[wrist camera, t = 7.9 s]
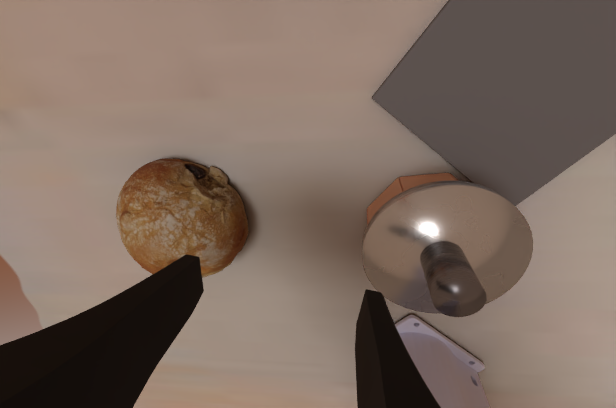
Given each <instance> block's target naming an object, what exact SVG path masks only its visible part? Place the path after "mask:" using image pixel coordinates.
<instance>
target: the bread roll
mask: <svg viewBox="0 0 616 408" xmlns="http://www.w3.org/2000/svg"><path fill="white" fill-rule="evenodd" d="M116 217H117V225H118V229H119V232H120V234H121V239H122V242H123V243H124V245H125V247H126V249H127V251H128V252H129V254H130V255H131V256H132V257H133V259H134V260H135V261H137V262H138V263H139V264H140V265H141V266H142V268H144V269H146V270H147V271H149V272H150V273H152V274H155V273H156V272H158V271H160V270H161V269H163V268H164V267H166V266H168V265H169V264H171V263H173V262H174V261H176V260H178V259H179V258H181V257H183V256H184V255H186V254H187V255H192V256H198V257H200V265H201V274H202V277H207V276H208V275H212V274H215V273H217V272H220V271H222V270H223V269H224V268H225V267H227V266H229V265H230V264H231V263H232V261H233V259H234V258H235V256H236V255H237V253H238V252H239V251H241V250H242V247H243V246H244V244H245V241H246V239H247V235H248V233H249V231H248V223H247V219H248V218H247V216H246V213H245V209H244V205H243V202H242V200H241V198H240V196H239V194H238V193H237V191H236V190H235V189H234V188H233V187H232V186H230V185H229V184H228V176H227V175H226V174H225V173H223V172H222V171H221V170H220V169H217V168H215V167H212V166H210V168H206V167H204V166H202V165H199V164H196V163H192V162H186V161H183V160H180V159H167V158H166V159H159V160H156V161H153V162H150V163H148V164H146V165H144V166H142V167H141V168H139V169H138V170H137V171H136V172H134V173H133V174H132V175H131V176H130V178H129V179H128V181H126V182H125V184H124V186H123V188H122V190H121V191H120V194H119V197H118V201H117V213H116Z"/></svg>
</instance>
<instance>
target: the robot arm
mask: <svg viewBox="0 0 616 408" xmlns="http://www.w3.org/2000/svg"><path fill="white" fill-rule="evenodd" d="M203 291H204V290H203V282H202V274H201V265H200V257H198V256H192V255H187V254H186V255H184V256H183V257H181V258H179V259H178V260H176V261H174V262H173V263H171V264H169V265H168V266H166V267H164V268H163V269H161V270H160V271H158V272H156V273H155V274H153V275H151V276H150V277H148V278H146V279H144V280H143V281H141V282H139V283H138V284H136V285H134V286H132V287H131V288H129V289H127V290H125V291H123V292H122V293H120V294H118V295H116V296H114V297H112V298H111V299H109V300H107V301H105V302H103V303H101V304H99V305H97V306H95V307H93V308H91V309H89V310H87V311H84V312H82V313H80V314H78V315H76V316H74V317H71V318H69V319H67V320H64V321H62V322H60V323H57V324H55V325H52V326H50V327H48V328H45V329H43V330H40V331H38V332H35V333H33V334H30V335H28V336H25V337H22V338H20V339H17V340H14V341H11V342H9V343H6V344H3V345H0V408H133V406H134V404H135V402H136V401H137V399H138V397H139V395H140V393H141V392H142V390H143V388H144V386H145V384H146V383H147V381H148V379H149V377H150V376H151V374H152V372H153V371H154V369H155V367H156V366H157V364H158V363H159V361H160V360H161V358H162V357H163V355H164V354H165V352H166V351H167V350H168V348H169V347H170V345H171V344H172V342H173V341H174V339H175V338H176V336H177V335H178V334H179V332H180V331H181V329H182V328H183V326H184V325H185V323H186V322H187V320H188V319H189V317H190V316H191V314H192V313H193V311H194V309H195V307H196V305H197V303H198V301H199V299H200V297H201V295H202V293H203ZM355 358H356V380H357V402H358V408H490V405H489V402H488V400H487V397H486V394H485V392H484V389H483V386H482V384H481V381H480V379H479V376H478V372H480V371H482V370H484V369H485V366H484V364H483V362H481V361H480V360H478V359H477V358H475V357H474V356H473V355H471V354H470V353H468V352H467V351H465V350H464V349H463V348H461V347H460V346H458V345H457V344H455V343H454V342H453V341H451V340H450V339H448V338H447V337H445V336H444V335H442V334H441V333H440V332H438V331H437V330H435V329H434V328H432V327H431V326H430V325H428V324H427V323H425V322H424V321H422V320H421V319H420V318H418V317H417V316H415V315H409V316H407V317H405V318H404V319H402V320H401V321H399V322H398V323H396V324H394V322H393V319H392V317H391V315H390V312H389V310H388V307H387V305H386V302H385V299H384V297H383V294H382V293H381V292H376V291H371V290H366V291H365V294H364V298H363V302H362V305H361V309H360V313H359V316H358V320H357V325H356V341H355Z"/></svg>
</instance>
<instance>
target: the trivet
mask: <svg viewBox="0 0 616 408" xmlns="http://www.w3.org/2000/svg"><path fill="white" fill-rule="evenodd" d="M372 99H373V100H375V101H376V102H377V103H378V104H379V105H381V106H382V107H383V108H384V109H385V110H387V111H388V112H389V113H390V114H391V115H393V116H394V117H395V118H396V119H397V120H399V121H400V122H401V123H402V124H403V125H405V126H406V127H407V128H408V129H409V130H411V131H412V132H413V133H414V134H415V135H417V136H418V137H419V138H420V139H421V140H423V141H424V142H425V143H426V144H427V145H429V146H430V147H431V148H432V149H433V150H435V151H436V152H437V153H438V154H439V155H441V156H442V157H443V158H444V159H445V160H447V161H448V162H449V163H450V164H451V165H453V166H454V167H455V168H456V169H457V170H459V171H460V172H461V173H462V174H463V175H465V176H466V177H467V178H468V179H469V180H471V181H472V182H473V183H475V184H479V185H482V186H485V187H487V188H490V189H492V190H494V191H496V192H497V193H499V194H501V195H502V196H503V197H505V198H506V199H507V200H508V201H510V202H511V203H512V204H513V205H514V206H516V205H517V204H519V203H520V202H522V201H523V200H524V199H526V198H527V197H529V196H530V195H531V194H533V193H534V192H535V191H537V190H538V189H540V188H541V187H542V186H544V185H545V184H547V183H548V182H549V181H551V180H552V179H553V178H555V177H556V176H558V175H559V174H560V173H562V172H563V171H565V170H566V169H567V168H569V167H570V166H571V165H573V164H574V163H576V162H577V161H578V160H580V159H581V158H583V157H584V156H585V155H587V154H588V153H589V152H591V151H592V150H594V149H595V148H596V147H598V146H599V145H601V144H602V143H603V142H605V141H606V140H607V139H609V138H610V137H612V136H613V135H614V134H616V0H449V1H448V2H447V3H446V4H445V6H444V7H443V8H442V9H441V11H440V12H439V13H438V14H437V16H436V17H435V18H434V19H433V21H432V22H431V23H430V24H429V26H428V27H427V28H426V29H425V31H424V32H423V33H422V35H421V36H420V37H419V38H418V40H417V41H416V42H415V43H414V45H413V46H412V47H411V48H410V50H409V51H408V52H407V53H406V55H405V56H404V57H403V58H402V60H401V61H400V62H399V63H398V65H397V66H396V67H395V68H394V70H393V71H392V72H391V73H390V75H389V76H388V77H387V78H386V80H385V81H384V82H383V83H382V85H381V86H380V87H379V89H378V90H377V91H376V92H375V94H374V95H373V96H372Z"/></svg>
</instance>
